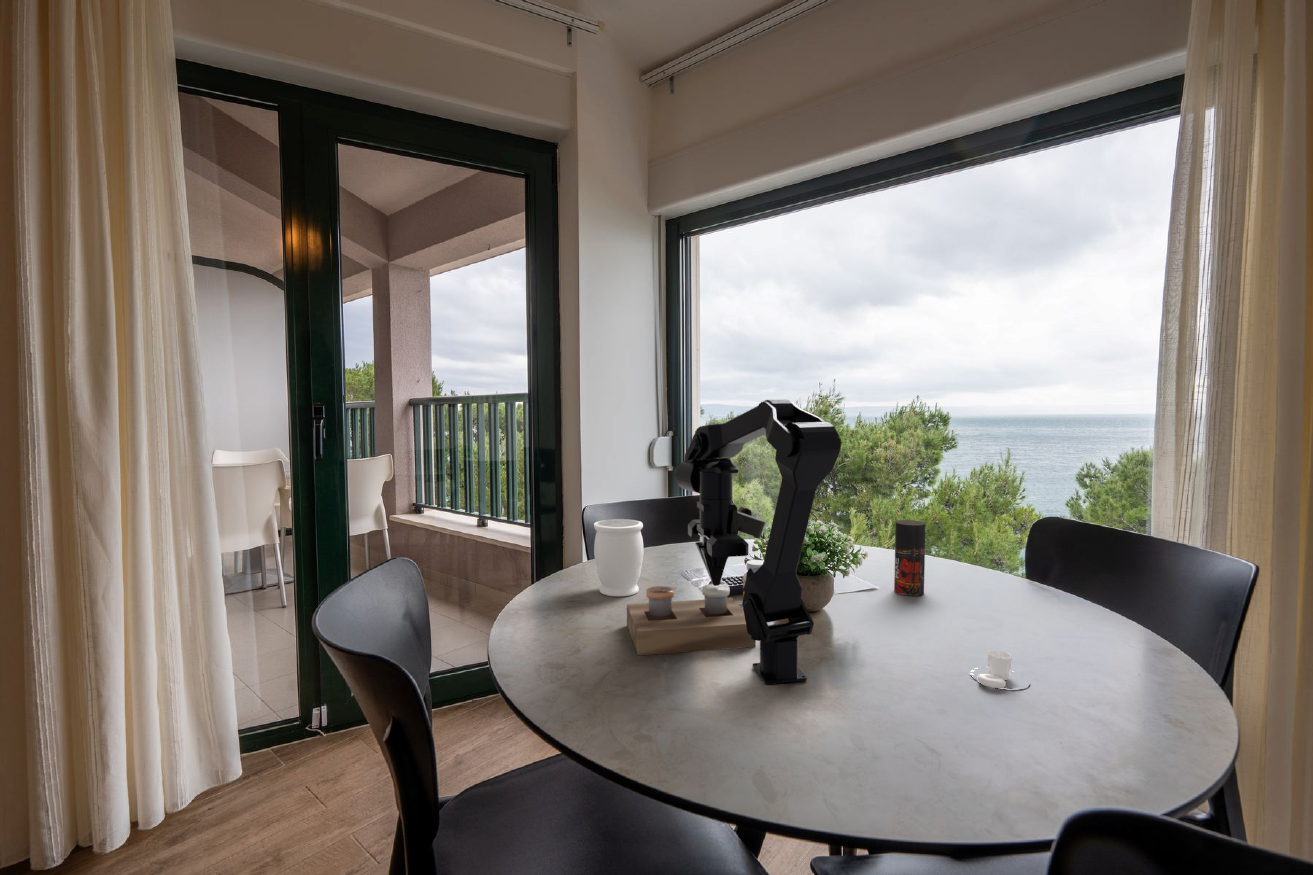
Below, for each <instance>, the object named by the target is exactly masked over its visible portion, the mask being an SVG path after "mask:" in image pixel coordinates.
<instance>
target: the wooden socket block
mask: <svg viewBox="0 0 1313 875" xmlns="http://www.w3.org/2000/svg"><path fill="white" fill-rule="evenodd" d="M626 627H627V631H628V632H629V635H630V638H631V641H632V644H633V646H634V649H635V652H636V654H637V656H647V655H648V656H649V655H661V654H674V653H686V652H687V653H690V652H700V651H701V652H702V651H703V652H704V651H714V650H716V651H717V650H727V649H728V650H729V649H741V648H754V647H756V645H757V643H756V642H757V640H753V639H751V635H749V634H748V632H747V627H746V621H745V616H744V610H743V607H741V606H740V605H739V603H738V602H736V601H735V600H734V599H733V597H727V612H725V613H722V614H711V613H708V612H706V611H705V599H692V600H691V599H689V600H675V601H673V600H672V613H671V614H670V615H667V616H653V615H651V614H649V602H644V603H643V602H638V603H627V604H626Z"/></svg>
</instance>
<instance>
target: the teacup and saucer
mask: <svg viewBox="0 0 1313 875" xmlns="http://www.w3.org/2000/svg"><path fill="white" fill-rule="evenodd" d="M987 667H988V668H989V671H988V673H978V676H977V679H978V682H979V683H978V682H977V683H978V684H980V683H981V684H980V685H983V686H985V687H987V688H992V689H995V688H998V689H997V690H1000V688H1004V687H1006V684H1007V683H1006V682H1007V681H1008V680H1009V677H1010V675H1011V674H1010V671H1012V672H1014V671H1013V670H1012V655H1011V653H1008V652H1006V651H1002V650H989V651H988V652H987ZM974 669H978V667H975V668H974ZM974 671H975V670H973V669H971V670H970V671H969V676H970V675H974V674H973V673H970V672H974ZM972 677H973V676H972ZM972 677H971V678H972ZM1004 680H1007V681H1004Z"/></svg>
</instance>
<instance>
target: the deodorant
mask: <svg viewBox="0 0 1313 875" xmlns="http://www.w3.org/2000/svg"><path fill="white" fill-rule="evenodd" d="M926 525H927V524H926V522H924V521H922V520H921V521H920V520H915V519H913V520H912V519H899V520H896V521H895V534H894V535H895V536H894V537H895V538H894V580H893V581H894V587H893V588H894V589H893V590H894V592H895V593H897V595H901V596H902V595H903V596H908V597H921V596H923V595H925V571H926V570H925V566H926V563H925V562H926V561H925V560H926Z"/></svg>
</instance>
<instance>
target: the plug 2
mask: <svg viewBox="0 0 1313 875" xmlns="http://www.w3.org/2000/svg"><path fill="white" fill-rule="evenodd" d="M701 588H702V590H701V591H702V592H701V594H702V595H703V596H704V600H705V611H706V612H708V613H711V614H722V613H725V612H727V598H728V597H729V596H730V594H731V593H730V592H731V590H730V586H728V585H726V584H721V583H720V585H718V586H714V585H713V584H712V583H710V584H705V585H703V586H702V587H701Z"/></svg>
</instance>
